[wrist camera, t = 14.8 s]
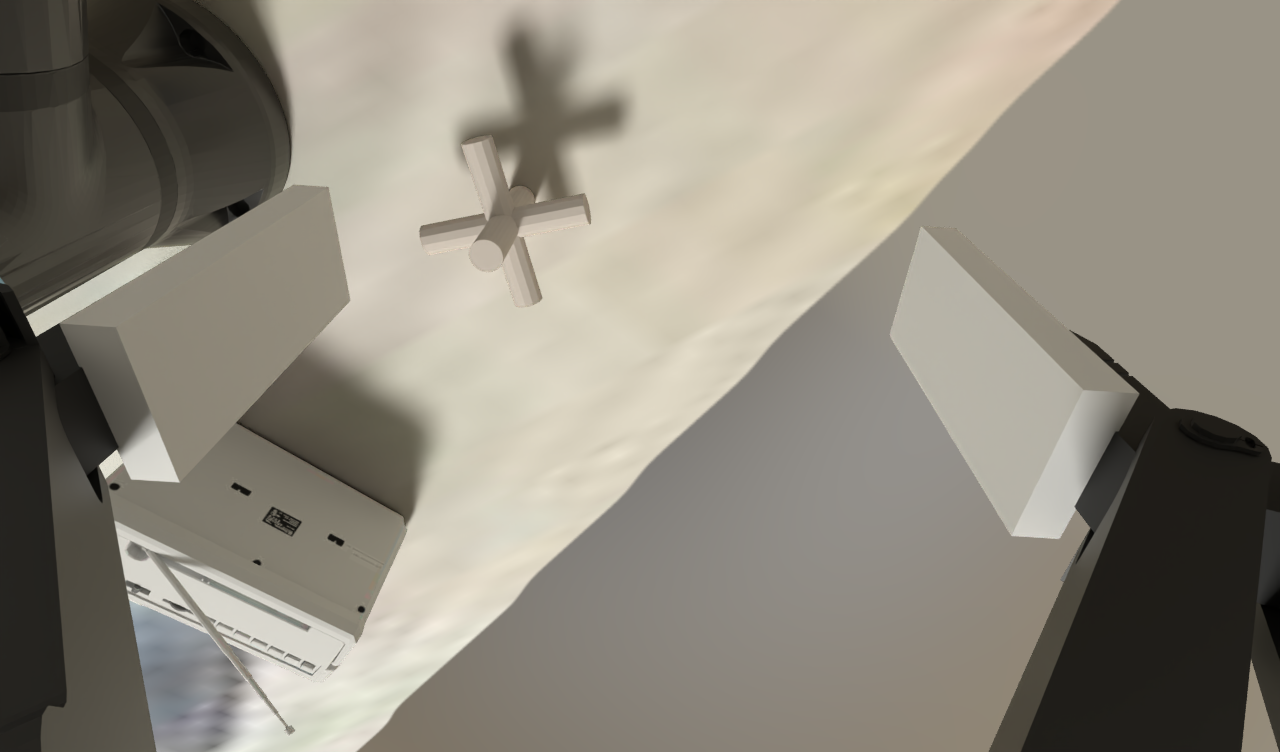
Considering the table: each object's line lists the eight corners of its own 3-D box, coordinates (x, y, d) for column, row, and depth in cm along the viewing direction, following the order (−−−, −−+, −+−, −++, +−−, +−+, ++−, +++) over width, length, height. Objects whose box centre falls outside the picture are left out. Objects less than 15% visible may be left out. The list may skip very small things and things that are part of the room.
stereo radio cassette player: (159, 446, 56) (-63, 657, 39) (194, 384, 52) (-33, 586, 35) (379, 562, 62) (272, 786, 45) (423, 515, 59) (325, 737, 42)
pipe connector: (474, 281, 47) (431, 351, 38) (422, 137, 42) (359, 181, 33) (612, 256, 45) (599, 323, 37) (575, 104, 40) (550, 141, 32)
